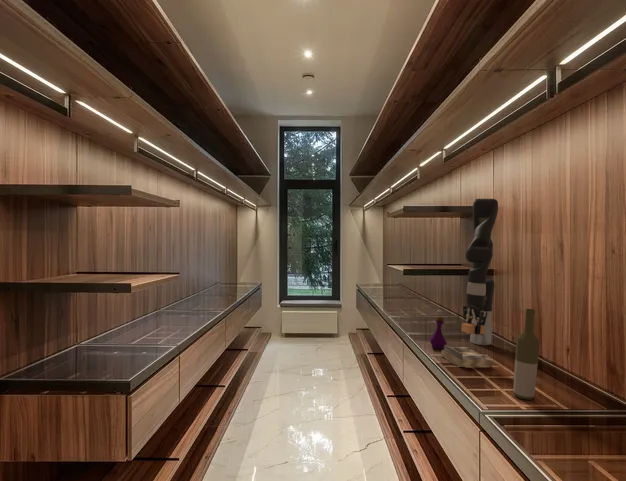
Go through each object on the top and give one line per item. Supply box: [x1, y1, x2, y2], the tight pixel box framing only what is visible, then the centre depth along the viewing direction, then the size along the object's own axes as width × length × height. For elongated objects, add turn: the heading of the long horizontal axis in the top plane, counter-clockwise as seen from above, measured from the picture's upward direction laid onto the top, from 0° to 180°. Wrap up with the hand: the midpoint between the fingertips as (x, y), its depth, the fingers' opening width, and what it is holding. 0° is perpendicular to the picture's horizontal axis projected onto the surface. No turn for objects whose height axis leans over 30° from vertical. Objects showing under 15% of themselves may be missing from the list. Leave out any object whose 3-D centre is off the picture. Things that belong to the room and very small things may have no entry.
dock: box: [440, 345, 493, 369], centre depth 171 cm, size 15×14×6 cm
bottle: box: [512, 308, 541, 401], centre depth 135 cm, size 7×7×30 cm
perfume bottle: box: [428, 309, 448, 350], centre depth 190 cm, size 8×8×18 cm
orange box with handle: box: [461, 322, 485, 336], centre depth 171 cm, size 8×5×5 cm, turn 104°
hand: (472, 332), depth 171 cm, fingers closed on orange box with handle, 5 cm apart
